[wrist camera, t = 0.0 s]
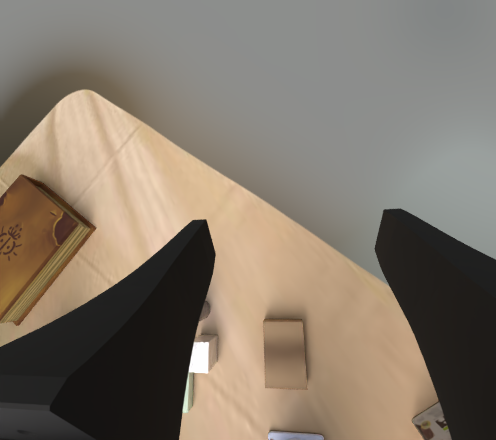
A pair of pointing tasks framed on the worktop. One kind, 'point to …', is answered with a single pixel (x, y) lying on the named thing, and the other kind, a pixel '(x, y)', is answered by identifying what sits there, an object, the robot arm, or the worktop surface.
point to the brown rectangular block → (284, 354)
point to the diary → (34, 244)
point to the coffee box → (432, 424)
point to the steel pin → (205, 311)
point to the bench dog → (204, 353)
